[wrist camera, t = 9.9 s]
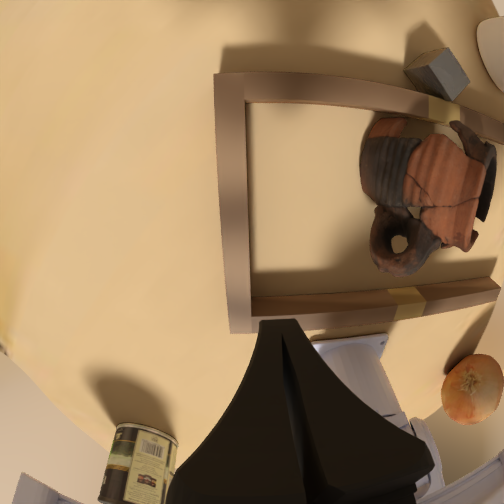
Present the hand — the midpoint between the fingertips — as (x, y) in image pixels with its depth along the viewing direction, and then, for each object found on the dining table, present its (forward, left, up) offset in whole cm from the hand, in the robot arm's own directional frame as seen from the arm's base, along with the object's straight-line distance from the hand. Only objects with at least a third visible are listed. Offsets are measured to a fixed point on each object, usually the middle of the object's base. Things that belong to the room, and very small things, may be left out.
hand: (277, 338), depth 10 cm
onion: (-20, -28, -10) cm, 36 cm away
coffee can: (-33, +18, -10) cm, 39 cm away
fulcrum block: (+13, -12, -10) cm, 20 cm away
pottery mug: (+4, -11, -10) cm, 15 cm away
